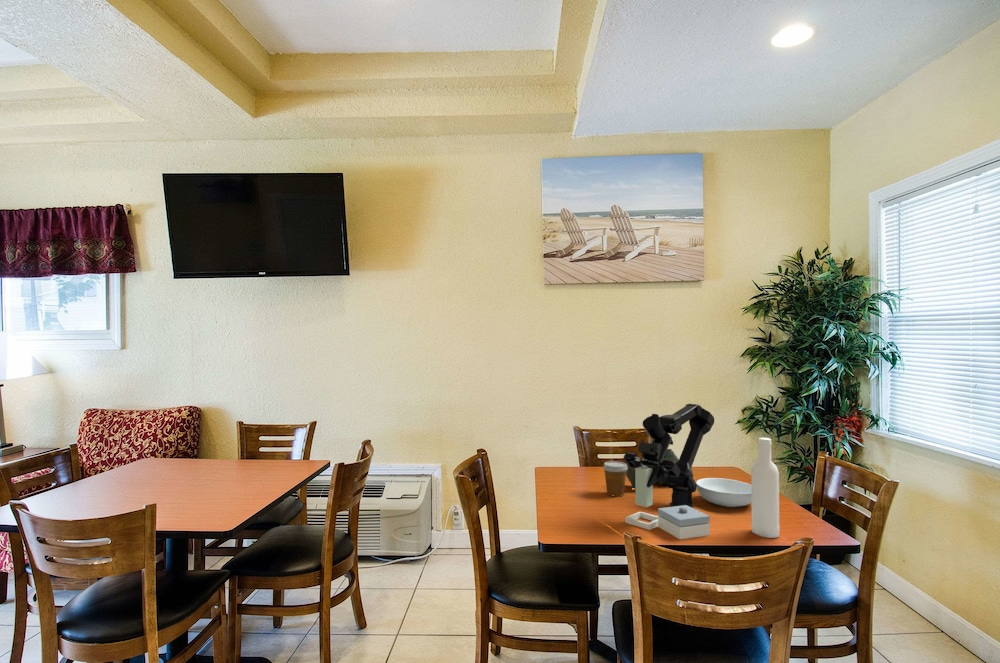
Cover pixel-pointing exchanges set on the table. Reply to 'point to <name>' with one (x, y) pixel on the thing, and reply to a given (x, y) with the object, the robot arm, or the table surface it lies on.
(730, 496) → the serving bowl
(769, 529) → the bottle
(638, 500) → the sage post
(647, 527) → the post well
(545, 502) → the table surface
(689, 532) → the lidded well
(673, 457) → the squash
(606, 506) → the table surface
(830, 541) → the table surface
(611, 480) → the disposable coffee cup
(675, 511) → the lid
